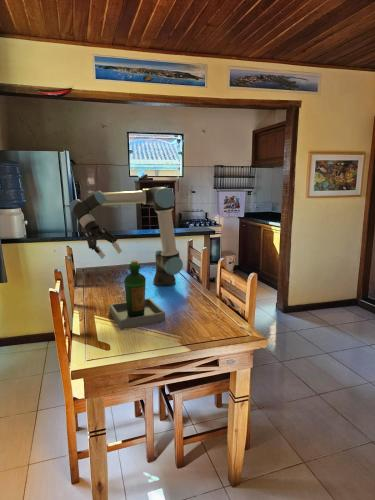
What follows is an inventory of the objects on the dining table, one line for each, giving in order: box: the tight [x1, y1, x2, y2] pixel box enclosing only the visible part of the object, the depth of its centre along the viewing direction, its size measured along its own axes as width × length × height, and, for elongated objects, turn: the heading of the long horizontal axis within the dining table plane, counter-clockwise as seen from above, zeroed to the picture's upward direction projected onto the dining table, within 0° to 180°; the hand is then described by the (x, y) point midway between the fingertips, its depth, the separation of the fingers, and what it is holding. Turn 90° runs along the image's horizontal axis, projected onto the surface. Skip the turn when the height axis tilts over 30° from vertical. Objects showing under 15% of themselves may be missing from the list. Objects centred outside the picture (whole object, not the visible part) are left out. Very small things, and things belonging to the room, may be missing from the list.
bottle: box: [123, 260, 147, 317], centre depth 159 cm, size 11×11×28 cm
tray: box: [108, 297, 166, 331], centre depth 162 cm, size 22×22×4 cm
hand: (112, 254), depth 169 cm, fingers open, 13 cm apart
